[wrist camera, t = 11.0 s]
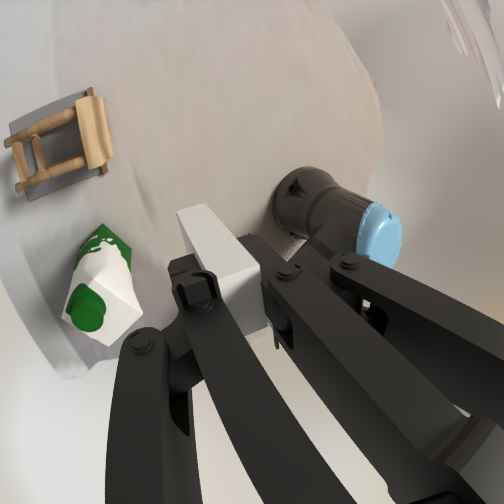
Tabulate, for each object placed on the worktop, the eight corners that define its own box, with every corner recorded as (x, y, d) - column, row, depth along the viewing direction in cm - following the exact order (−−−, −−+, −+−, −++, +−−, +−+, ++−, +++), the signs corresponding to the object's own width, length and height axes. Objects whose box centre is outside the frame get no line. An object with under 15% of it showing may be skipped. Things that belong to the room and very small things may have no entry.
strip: (92, 87, 29) (91, 86, 28) (108, 170, 37) (107, 172, 36) (87, 89, 29) (86, 88, 28) (103, 172, 37) (103, 173, 36)
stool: (88, 95, 23) (0, 137, 20) (102, 165, 28) (16, 199, 25) (103, 98, 30) (28, 129, 27) (114, 154, 35) (40, 180, 32)
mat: (85, 90, 29) (85, 90, 29) (101, 173, 37) (101, 173, 36) (9, 123, 25) (9, 123, 25) (29, 201, 32) (28, 202, 32)
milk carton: (102, 215, 40) (92, 282, 24) (139, 248, 45) (153, 325, 29) (72, 251, 39) (53, 330, 24) (108, 280, 45) (111, 363, 29)
